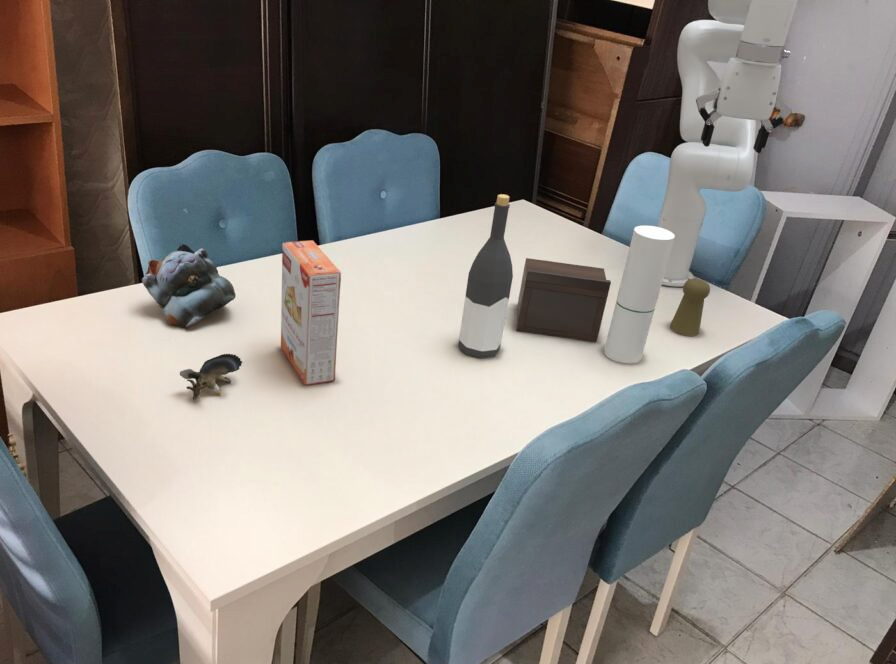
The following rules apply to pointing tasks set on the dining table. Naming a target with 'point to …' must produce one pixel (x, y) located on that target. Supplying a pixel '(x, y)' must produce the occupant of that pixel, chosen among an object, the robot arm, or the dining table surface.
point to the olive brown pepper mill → (690, 308)
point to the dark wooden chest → (562, 300)
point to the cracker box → (309, 311)
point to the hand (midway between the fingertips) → (731, 148)
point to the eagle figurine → (212, 373)
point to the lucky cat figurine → (187, 286)
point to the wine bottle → (488, 291)
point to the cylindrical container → (638, 293)
